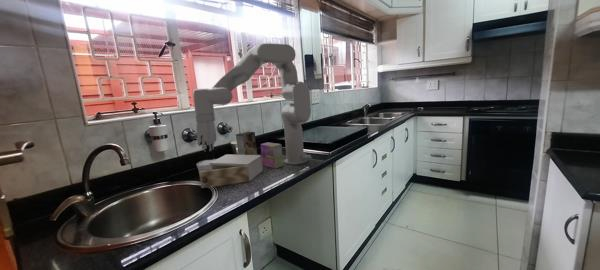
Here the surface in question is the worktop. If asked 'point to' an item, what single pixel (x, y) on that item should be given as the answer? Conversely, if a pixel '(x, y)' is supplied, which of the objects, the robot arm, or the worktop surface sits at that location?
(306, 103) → the robot arm
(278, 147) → the box
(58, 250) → the worktop surface
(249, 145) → the coffee box
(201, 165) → the ramekin
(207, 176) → the door
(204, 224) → the worktop surface
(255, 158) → the box
